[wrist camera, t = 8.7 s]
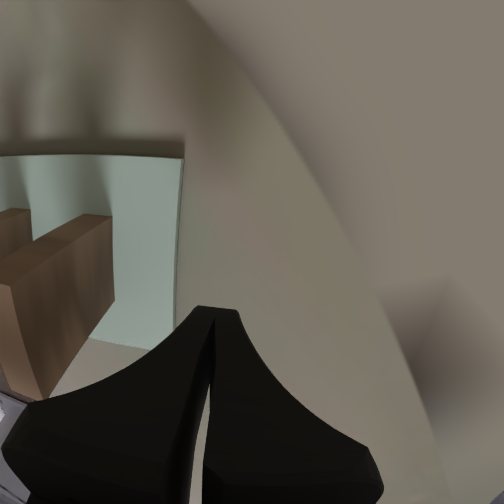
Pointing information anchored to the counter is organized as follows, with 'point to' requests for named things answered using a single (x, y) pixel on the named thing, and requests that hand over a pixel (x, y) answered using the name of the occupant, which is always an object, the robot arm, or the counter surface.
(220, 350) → the robot arm
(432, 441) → the counter surface
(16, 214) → the domino
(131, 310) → the board
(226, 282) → the counter surface
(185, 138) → the counter surface
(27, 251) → the domino
